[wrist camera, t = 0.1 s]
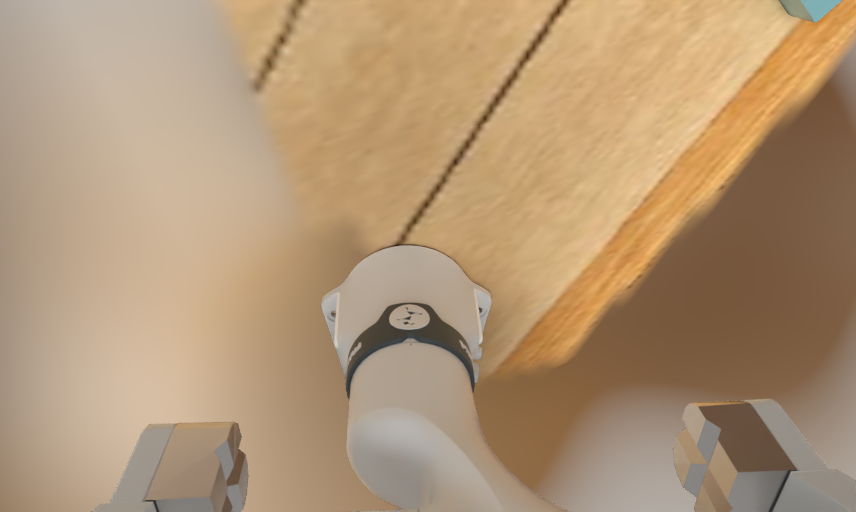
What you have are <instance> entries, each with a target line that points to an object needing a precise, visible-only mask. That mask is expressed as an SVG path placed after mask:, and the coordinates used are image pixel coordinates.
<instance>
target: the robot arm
mask: <svg viewBox="0 0 856 512" xmlns="http://www.w3.org/2000/svg"><path fill="white" fill-rule="evenodd" d="M491 304H492V298H491V294H490V293H489V292H488V291H487V290H486V289H484V288H483V287H481V286H479V285H477V284H476V283H474V282H472V281H471V280H470V279H469V278H468V277H467V276H466V274H465V273H464V272H463V270H462V269H461V268H460V267H459V265H458V264H457V263H455V262H454V261H453V260H452V259H450V258H449V257H448V256H446V255H444V254H442V253H440V252H438V251H436V250H433V249H430V248H426V247H421V246H412V245H404V246H395V247H390V248H386V249H383V250H380V251H377V252H375V253H373V254H371V255H370V256H368V257H366V258H365V259H363V260H362V261H361V262H360V263H359V264H358V265H356V266H355V267H354V269H353V270H352V271H351V272H350V274H349V275H348V277H347V278H346V280H345V281H344V282H343V283H342V284H341V285H339V286H338V287H336V288H334V289H333V290H331V291H329V292H328V293H326V294H325V295H324V296H323V298H322V300H321V308H322V311H323V314H324V317H325V320H326V323H327V326H328V328H329V331H330V334H331V337H332V340H333V343H334V346H335V349H336V351H337V354H338V357H339V360H340V363H341V366H342V369H343V372H344V375H345V379H346V391H347V396H348V399H349V414H348V427H347V441H346V450H347V455H348V459H349V462H350V464H351V467H352V468H353V470H354V472H355V473H356V474H357V476H358V477H359V479H360V480H361V481H362V483H363V484H364V485H365V486H366V487H367V488H368V489H369V491H371V492H372V493H373V494H374V495H375V496H377V497H378V498H380V499H382V500H384V501H385V502H387V503H389V504H391V505H393V506H396V507H398V508H400V509H402V510H379V511H356V512H570V511H568V510H566V509H563V508H561V507H559V506H557V505H555V504H554V503H552V502H550V501H548V500H546V499H545V498H543V497H541V496H540V495H538V494H537V493H536V492H534V491H532V490H531V489H530V488H529V487H527V486H526V485H525V484H524V483H522V482H521V481H520V480H519V479H517V477H515V476H514V475H513V474H512V473H511V472H510V471H509V470H508V469H507V468H506V467H505V466H504V465H503V464H502V463H501V461H500V460H499V459H498V458H497V457H496V455H495V454H494V453H493V451H492V450H491V448H490V447H489V445H488V443H487V442H486V440H485V438H484V435H483V433H482V429H481V426H480V423H479V419H478V415H477V412H476V407H475V403H474V398H473V392H474V387H475V383H477V381H478V378H479V364H478V363H476V362H473V361H474V359H476V360H478V359H479V360H480V359H481V357H482V347H479V344H481V343H482V341H483V335H482V333H483V330H484V327H485V323H486V320H487V317H488V314H489V311H490V308H491ZM479 308H481V309H480V310H479ZM333 311H336V314H334V313H332V312H333ZM682 420H683V422H684V423H685V425H686V428H685V429H684V430H683V431H681V432H680V433H679V434H678V435H677V436H676V439H675V444H674V448H673V454H674V465H675V468H676V472H677V475H678V477H679V479H680V482H681V484H682V486H683V488H685V489H686V490H687V491H689V492H690V493H692V494H693V495H694V496H695V497H697V499H696V503H695V506H694V510H695V512H856V480H854V479H852V478H851V477H849V476H848V475H846V474H844V473H843V472H841V471H839V470H829V469H828V468H827V466H826V465H825V464H824V462H823V461H822V460H821V459H820V457H819V456H818V454H816V452H815V451H814V449H813V448H812V447H811V446H810V444H809V443H808V442H807V440H806V439H805V438H804V436H803V435H802V434H801V432H800V431H799V430H798V428H797V427H796V426H795V424H794V423H793V422H792V421H791V419H790V418H789V417H788V415H787V414H786V413H785V411H784V410H783V409H782V408H781V406H780V405H779V404H778V403H777V402H775V401H774V400H772V399H760V400H744V401H739V400H738V401H719V402H699V403H689V404H688V405H687V406H686V408H685V410H684V412H683V416H682ZM240 441H241V433H240V429H239V425H238V423H235V422H212V423H178V424H149V425H148V426H147V427H146V428H145V429H144V430H143V431H142V433H141V435H140V438H139V440H138V442H137V444H136V446H135V448H134V451H133V453H132V455H131V457H130V460H129V462H128V464H127V466H126V468H125V470H124V473H123V475H122V477H121V479H120V481H119V484H118V486H117V488H116V490H115V492H114V494H113V497H112V499H111V501H110V503H105V504H100V505H98V506H97V507H96V508H95V509H94V510H92V511H91V512H241V510H242V509H243V508H244V505H245V500H246V495H247V487H248V465H247V460H246V455H245V454H244V453H243V452H242V451H241V450H239V445H240Z"/></svg>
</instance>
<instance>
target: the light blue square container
mask: <svg viewBox="0 0 856 512" xmlns="http://www.w3.org/2000/svg"><path fill="white" fill-rule="evenodd" d="M779 1H780V2H781V4H782V5H783V7H784V8H785V10H786V11H787V13H788V14H789V15H792V16H795V17H798V18H801V19H805V20H808V21H811V22H814V23H816V22H817V21H819V20H820V19H821V18H822V17H823V16H824V15H826V14H827V13H828V12H829V11H830V10H831V9H833V8H834V7H835V6H836V5H837V4H838V3H840V2H841V1H842V0H779Z"/></svg>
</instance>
